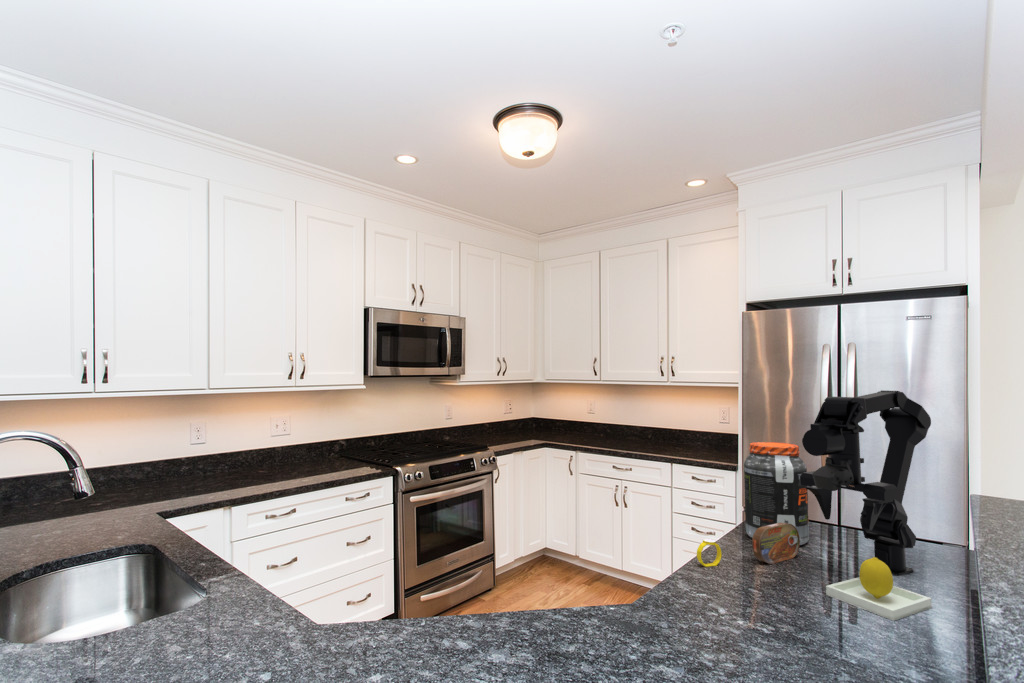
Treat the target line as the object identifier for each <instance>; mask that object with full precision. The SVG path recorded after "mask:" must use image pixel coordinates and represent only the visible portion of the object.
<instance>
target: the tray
mask: <svg viewBox="0 0 1024 683" xmlns="http://www.w3.org/2000/svg"><path fill="white" fill-rule="evenodd" d="M825 590H826V592H825V593H826V594H825V595H826V596H828V597H831V598H833V599H836V600H839V601H842V602H844V603H846V604H849V605H852V606H854V607H856V608H859V609H862V610H865V611H867V612H870V613H872V614H873V615H874V614H875V615H877V616H879V617H883V618H884V619H888V620H890V621H892V622H894V621H897V620H900V619H904V618H906V617H910V616H912V615H915V614H918V613H921V612H924V611H926V610H930V609H932V608H933V606H932V605H933V603H932V598H931V597H929V596H925V595H923V594H920V593H916V592H913V591H912V590H911V591H910V590H908V589H905V588H902V587H898V586H895V585H893V588H892V590H891V592H890V593H889V594H888V595H886V596H882V597H880V598H879V599H877V598H875V597H874V596H873V595H872V594H870V593H869V592H867V591H866V590H865V589H864V587H863V586H862V584H861V582H860V577H858V576H857V577H854V578H851V579H846V580H843V581H839V582H835V583H832V584H828V585H826V586H825Z"/></svg>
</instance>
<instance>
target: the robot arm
mask: <svg viewBox="0 0 1024 683" xmlns="http://www.w3.org/2000/svg"><path fill="white" fill-rule="evenodd" d="M878 412H879V417H880V418H881V419H882V420H883V422H884V429H885V432H886V434H887V435H888V437H889V443H888V447H887V449H886V450H887V452H886V455H885V459H884V463H883V466H882V471H881V475H880V480H879V481H874V482H867V483H865V482H866V477H865V476H862V467H861V464H865V458H864V457H861V449H860V448H861V447H860V446H861V444H860V433H864V432H865V429H864V428H863V427H862V426H861V425H859V423H861V422H863V421H865V420H866V419H867V418H868V416H867V415H870V414H875V413H878ZM931 425H932V419H931V416H930V414H929V413H928V412H927V411H926V409H925V408H924V407H923V405H921V404H919V403H917V402H915V401H914V400H912V399H911V398H909V397H908V396H907V395H906V394H905V393H904V392H903V391H900V390H880V391H877V392H873V393H869V394H863V395H859V396H855V397H853V396H827V397H825V399H824V401H823V403H822V404H821V405H820V409H819V411H818V413H817V415H816V418H815V420H814V422H813V423H811V424H810V429H808V430H807V431H806V432H805V433H804V434H803V437H802V439H801V441H802V446H803V448H804V450H805V452H807V453H808V454H809V455H811V456H813V457H819V456H826V457H825V465H824V466H820V467H819V468H817V469H816V470H812V471H807V472H803V473H802V474H801V476H800V485H805V486H807V487H805V488H806V489H807V491H810V492H811V493H812V494H813V495H814V497H815V500H817V502H818V505H819V508H820V509H821V512H822V515H823V517H824V519H825V520H830V519H831V514H832V501H833V500H832V499H833V492H836V491H838V490H839V489H844V490H849V491H854V492H859V493H863V495H864V496H865V497H866V498H862V501H863V508H862V510H861V512H860V519H859V522H860V525H861V529H862V533H863V536H864V539H868V540H872V541H874V542H873V545H874V549H873V553H874V556H873V557H876V558H878V560H881V561H882V562H884V563H885V564H886V565H887V566H888V567H889V569H890V571H891V573H892V575H895V576H901V575H905V574H909V573H912V572H914V568H912V567H909V566H907V562H906V560H907V559H906V549H914V547H915V546H916V542H917V536H916V534H915V533H914V532H913V530H912V529H911V527H909V525H908V518H909V517H908V515H907V512H906V510H905V508H904V506H903V500H904V495H905V490H906V487H907V482H908V477H909V473H910V469H911V465H912V460H913V455H914V451H915V448H916V446H918V444H920V443H921V442H922V441H924V439H926V437H927V434H928V431H929V428H930V427H931Z"/></svg>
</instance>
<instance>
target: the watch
mask: <svg viewBox="0 0 1024 683" xmlns="http://www.w3.org/2000/svg"><path fill="white" fill-rule="evenodd" d="M707 545H708V546H714V547H715V548H716V555H715V556H716V557H715V559H714V560H713V562H708V563H704V562H703V559H702V552H703V550H704V548H705V547H706V546H707ZM722 554H723V553H722V549H721V546H720V545H719V544H718V543H716V540H714V539H710V538H703V539H702V542H701V543H700V544H699V545H698V548H697V550H696V558H697V561H698V562H699V564H701V566H703V567H705V568H707V567H709V568H710V567H717V566H718V565H719V564H720V562H721V560H722Z"/></svg>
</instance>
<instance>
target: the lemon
mask: <svg viewBox="0 0 1024 683" xmlns="http://www.w3.org/2000/svg"><path fill="white" fill-rule="evenodd" d="M858 576H859V577H860V582H861V584H862V586H863V587H864V589H865V590H866V591H867V592H869V593H870V594H872V595H873V596H874V597H875V598H877V599H879V598H880V597H882V596H886V595H888V594H889V593H890V592H891V590H892V588H893V586H894V577H893V574H892V573H891V571H890V569H889V567H888V566H887V565H886V564H885V563H884V562H882V561H881V560H878V558H876V557H875V556H873V557H871V558H867V559H866V560H864V561H862V563H861V564H860V568H859V573H858Z"/></svg>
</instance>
